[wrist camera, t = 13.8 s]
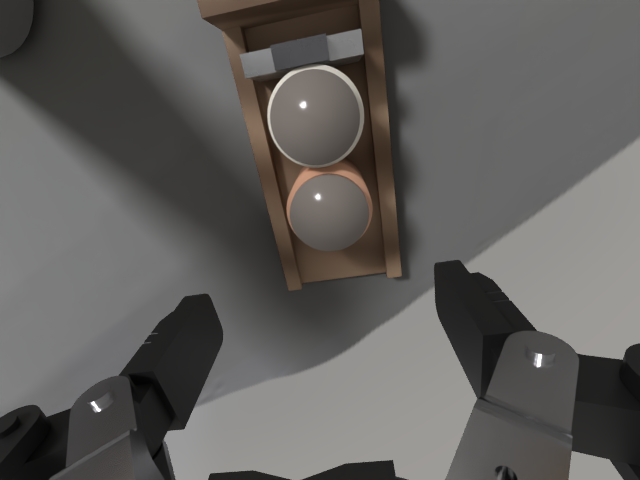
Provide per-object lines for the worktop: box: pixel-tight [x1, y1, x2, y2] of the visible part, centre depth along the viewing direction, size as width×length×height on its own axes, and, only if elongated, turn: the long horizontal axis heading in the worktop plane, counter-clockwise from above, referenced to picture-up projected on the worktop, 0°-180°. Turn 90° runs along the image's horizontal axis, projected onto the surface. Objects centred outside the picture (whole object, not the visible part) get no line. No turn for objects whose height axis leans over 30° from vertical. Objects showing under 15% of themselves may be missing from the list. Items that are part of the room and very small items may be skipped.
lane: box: [197, 0, 402, 291], centre depth 22 cm, size 22×10×5 cm, turn 10°
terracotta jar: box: [287, 158, 373, 251], centre depth 23 cm, size 6×6×6 cm
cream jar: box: [267, 64, 364, 168], centre depth 20 cm, size 6×6×6 cm
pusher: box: [240, 29, 364, 82], centre depth 19 cm, size 1×7×5 cm, turn 100°
